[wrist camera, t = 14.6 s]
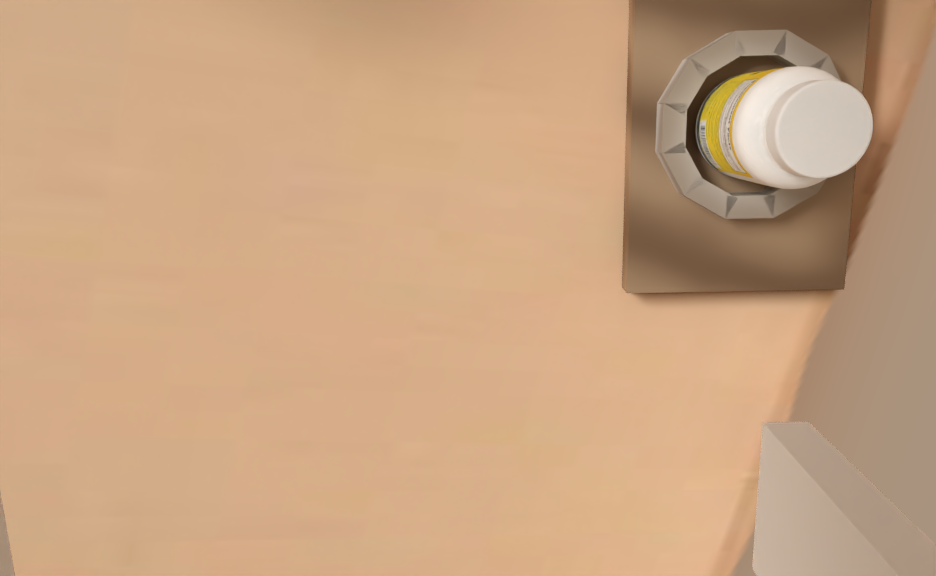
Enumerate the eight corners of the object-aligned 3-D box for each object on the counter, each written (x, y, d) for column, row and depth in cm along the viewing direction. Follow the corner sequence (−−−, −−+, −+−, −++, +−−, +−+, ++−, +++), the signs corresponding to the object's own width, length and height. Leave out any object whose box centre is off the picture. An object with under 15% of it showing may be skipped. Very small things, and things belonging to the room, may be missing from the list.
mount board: (630, -49, 41) (642, -61, 38) (862, -55, 41) (892, -67, 38) (622, 286, 45) (632, 299, 42) (831, 283, 45) (856, 296, 42)
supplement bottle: (815, 102, 41) (919, 101, 31) (760, 194, 42) (844, 221, 33) (726, 53, 40) (804, 38, 31) (673, 148, 42) (733, 161, 32)
